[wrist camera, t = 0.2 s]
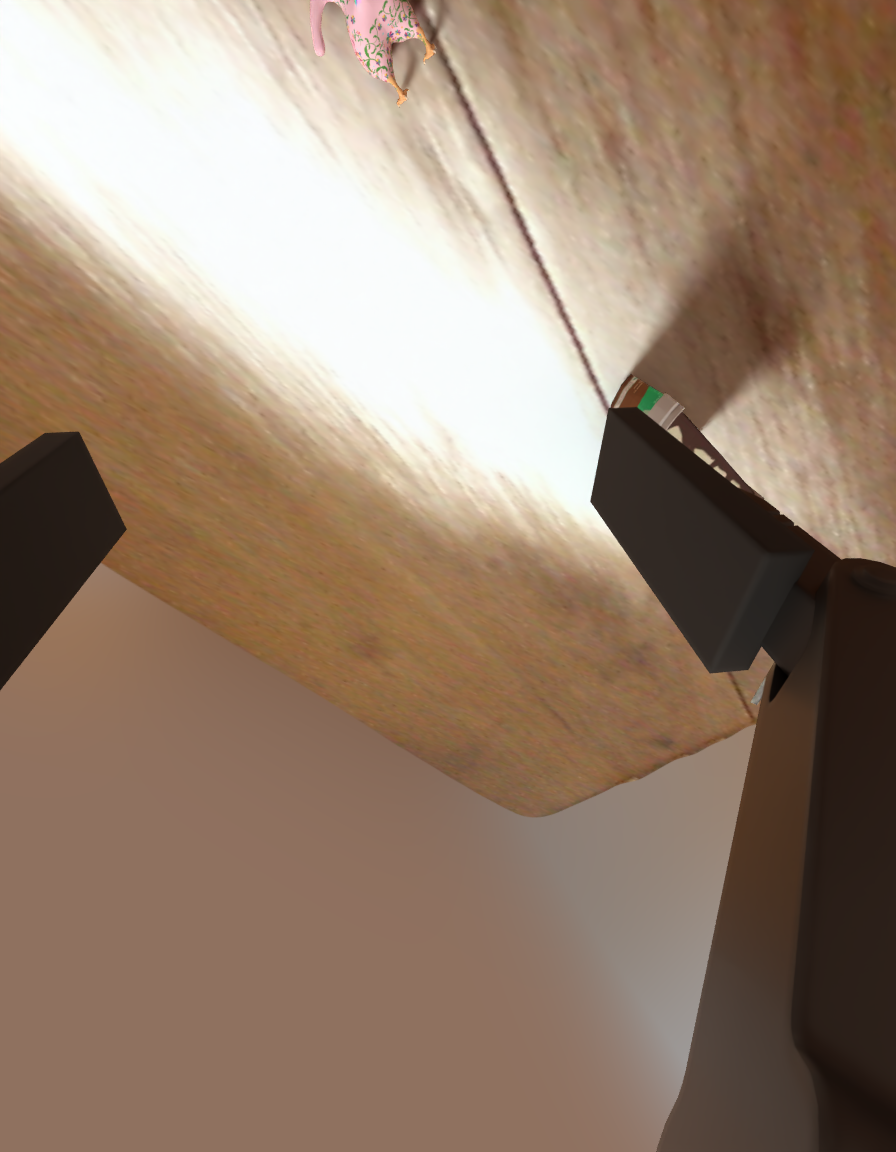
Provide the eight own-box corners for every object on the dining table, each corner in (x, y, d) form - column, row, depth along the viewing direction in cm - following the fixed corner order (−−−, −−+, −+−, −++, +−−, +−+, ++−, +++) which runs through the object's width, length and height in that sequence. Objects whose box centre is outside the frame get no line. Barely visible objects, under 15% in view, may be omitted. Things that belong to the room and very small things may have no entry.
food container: (564, 421, 42) (606, 472, 34) (620, 362, 39) (679, 402, 31) (646, 497, 47) (699, 556, 39) (700, 449, 45) (768, 502, 37)
